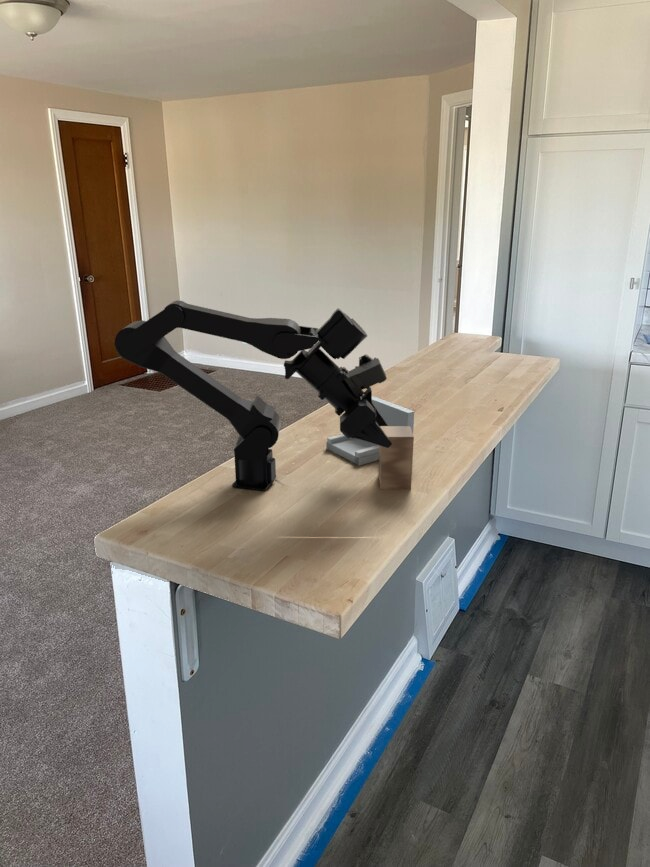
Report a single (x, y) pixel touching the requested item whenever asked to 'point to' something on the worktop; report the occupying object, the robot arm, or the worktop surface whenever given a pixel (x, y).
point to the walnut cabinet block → (396, 458)
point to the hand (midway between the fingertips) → (387, 436)
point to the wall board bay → (369, 451)
